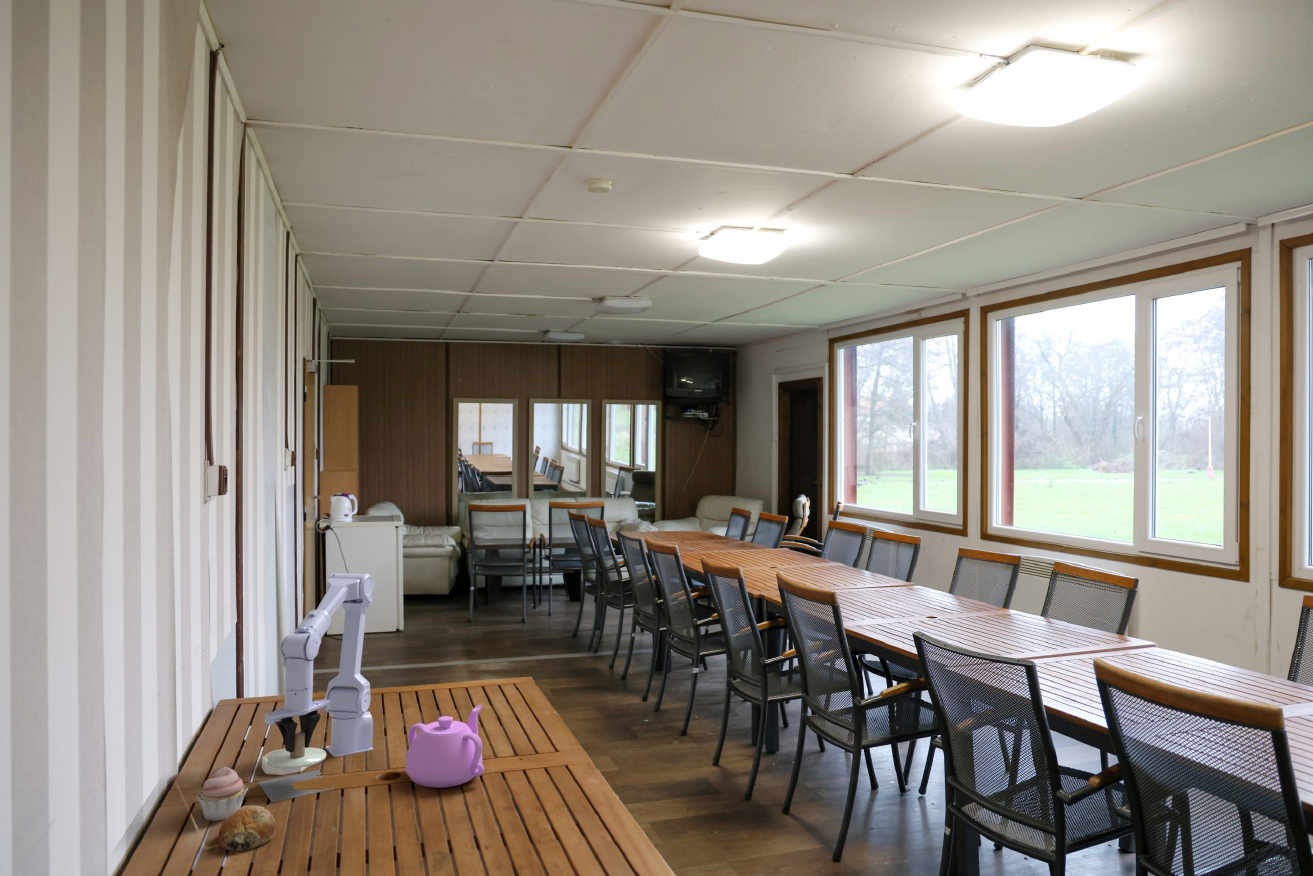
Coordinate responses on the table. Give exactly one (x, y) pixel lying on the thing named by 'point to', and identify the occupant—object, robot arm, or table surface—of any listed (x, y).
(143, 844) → the table surface
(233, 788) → the cupcake
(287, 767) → the lid
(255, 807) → the bread roll
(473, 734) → the teapot
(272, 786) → the mat
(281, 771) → the bowl
